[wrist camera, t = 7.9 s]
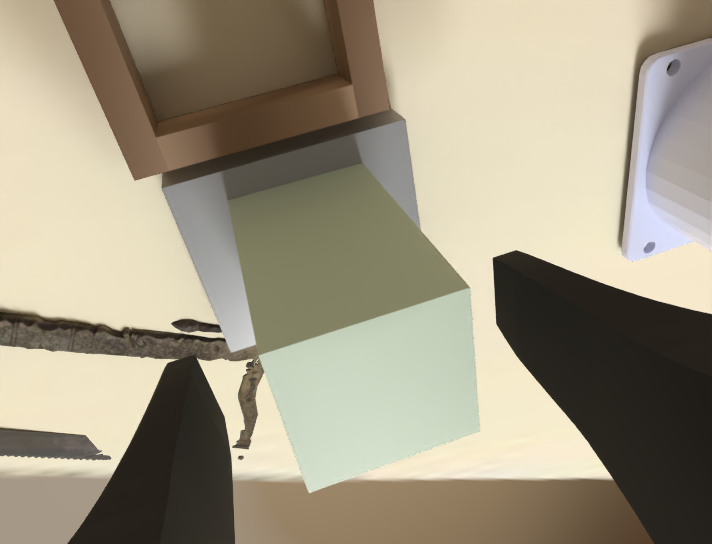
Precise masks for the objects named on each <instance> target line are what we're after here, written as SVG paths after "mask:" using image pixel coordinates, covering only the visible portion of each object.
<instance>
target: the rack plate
mask: <svg viewBox="0 0 712 544" xmlns="http://www.w3.org/2000/svg"><path fill="white" fill-rule="evenodd" d="M360 163H363V164H364V165H365V166H366V168H367V169H368V170H369V171H370V172H371V173H372V175H373V176H374V177H375V178H376V179H377V180H378V182H379V183H380V184H381V185H382V186H383V187H384V188H385V190H386V191H387V192H388V193H389V194H390V195H391V197H392V198H393V199H394V200H395V201H396V202H397V204H398V205H399V206H400V207H401V208H402V209H403V210H404V212H405V213H406V214H407V215H408V216H409V217H410V219H411V220H412V221H413V222H414V223H415V224H416V226H417V227H418V228H419V229H420V222H419V215H418V207H417V200H416V193H415V186H414V178H413V171H412V164H411V157H410V149H409V142H408V135H407V128H406V120H405V119H404V118H403V117H402V116H400V115H399V114H398V113H396V112H395V111H394V110H392V109H390V110H386V111H383V112H379V113H376V114H372V115H369V116H365V117H361V118H358V119H354V120H351V121H347V122H343V123H340V124H336V125H333V126H329V127H326V128H322V129H318V130H315V131H311V132H308V133H304V134H301V135H297V136H293V137H290V138H286V139H283V140H279V141H275V142H272V143H268V144H265V145H261V146H258V147H254V148H250V149H247V150H243V151H240V152H236V153H233V154H229V155H225V156H222V157H218V158H215V159H211V160H207V161H204V162H200V163H197V164H193V165H190V166H186V167H182V168H179V169H175V170H172V171H168V172H165V173H163V175H162V190H163V193H164V195H165V198H166V200H167V202H168V205H169V207H170V209H171V212H172V214H173V216H174V219H175V221H176V224H177V226H178V228H179V231H180V233H181V235H182V238H183V240H184V242H185V245H186V247H187V250H188V252H189V254H190V257H191V259H192V261H193V264H194V266H195V269H196V271H197V273H198V276H199V278H200V280H201V283H202V285H203V287H204V290H205V292H206V295H207V297H208V299H209V302H210V304H211V306H212V309H213V311H214V314H215V316H216V318H217V321H218V323H219V325H220V328H221V330H222V332H223V335H224V337H225V340H226V342H227V344H228V347H229V349H230V351H231V353H232V352H235V351H238V350H241V349H244V348H247V347H250V346H253V345H256V341H255V336H254V331H253V326H252V321H251V316H250V311H249V306H248V301H247V296H246V291H245V286H244V281H243V276H242V271H241V266H240V261H239V256H238V251H237V246H236V241H235V236H234V231H233V226H232V221H231V216H230V211H229V206H228V201H227V200H231V199H234V198H238V197H241V196H245V195H249V194H252V193H256V192H259V191H263V190H267V189H270V188H274V187H277V186H281V185H285V184H288V183H292V182H295V181H299V180H303V179H306V178H310V177H313V176H317V175H321V174H324V173H328V172H331V171H335V170H339V169H342V168H346V167H349V166H353V165H357V164H360ZM420 230H421V229H420Z"/></svg>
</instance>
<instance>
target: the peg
mask: <svg viewBox="0 0 712 544" xmlns="http://www.w3.org/2000/svg"><path fill="white" fill-rule="evenodd" d="M227 201H228V206H229V211H230V216H231V221H232V226H233V231H234V236H235V241H236V246H237V251H238V256H239V261H240V266H241V271H242V276H243V281H244V286H245V291H246V296H247V301H248V306H249V311H250V316H251V321H252V326H253V331H254V336H255V341H256V346H257V351H258V356H259V359H260V361H261V364H262V367H263V369H264V372H265V375H266V378H267V380H268V383H269V386H270V389H271V391H272V394H273V397H274V399H275V402H276V405H277V408H278V410H279V413H280V416H281V418H282V421H283V424H284V427H285V429H286V432H287V435H288V438H289V440H290V443H291V446H292V448H293V451H294V454H295V457H296V459H297V462H298V465H299V467H300V470H301V473H302V476H303V478H304V481H305V484H306V487H307V489H308V491H309V493H311V492H313V491H316V490H319V489H321V488H324V487H327V486H330V485H333V484H335V483H338V482H341V481H344V480H347V479H349V478H352V477H355V476H358V475H360V474H363V473H366V472H369V471H371V470H374V469H377V468H380V467H382V466H385V465H388V464H391V463H393V462H396V461H399V460H402V459H404V458H407V457H410V456H413V455H416V454H418V453H421V452H424V451H427V450H429V449H432V448H435V447H438V446H440V445H443V444H446V443H449V442H451V441H454V440H457V439H460V438H462V437H465V436H468V435H471V434H473V433H476V432H479V431H480V422H479V408H478V394H477V380H476V366H475V352H474V337H473V323H472V309H471V295H470V287H469V286H468V285H467V283H466V282H465V281H464V280H463V279H462V278H461V277H460V275H459V274H458V273H457V272H456V271H455V270H454V268H453V267H452V266H451V265H450V264H449V263H448V261H447V260H446V259H445V258H444V257H443V256H442V255H441V253H440V252H439V251H438V250H437V249H436V248H435V246H434V245H433V244H432V243H431V242H430V241H429V239H428V238H427V237H426V236H425V235H424V234H423V233H422V231H421V230H420V229H419V228H418V227H417V226H416V224H415V223H414V222H413V221H412V220H411V219H410V217H409V216H408V215H407V214H406V213H405V212H404V210H403V209H402V208H401V207H400V206H399V205H398V204H397V202H396V201H395V200H394V199H393V198H392V197H391V195H390V194H389V193H388V192H387V191H386V190H385V188H384V187H383V186H382V185H381V184H380V183H379V182H378V180H377V179H376V178H375V177H374V176H373V175H372V173H371V172H370V171H369V170H368V169H367V168H366V166H365V165H364V164H363V163H360V164H357V165H353V166H349V167H346V168H342V169H339V170H335V171H331V172H328V173H324V174H321V175H317V176H313V177H310V178H306V179H303V180H299V181H295V182H292V183H288V184H285V185H281V186H277V187H274V188H270V189H267V190H263V191H259V192H256V193H252V194H249V195H245V196H241V197H238V198H234V199H231V200H227Z"/></svg>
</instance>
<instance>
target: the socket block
mask: <svg viewBox="0 0 712 544" xmlns="http://www.w3.org/2000/svg"><path fill="white" fill-rule="evenodd" d="M54 2H55V4H56V6H57V9H58V11H59V13H60V15H61V18H62V20H63V22H64V24H65V26H66V29H67V31H68V33H69V35H70V38H71V40H72V42H73V44H74V47H75V49H76V51H77V53H78V55H79V58H80V60H81V62H82V64H83V67H84V69H85V71H86V73H87V75H88V78H89V80H90V82H91V84H92V87H93V89H94V91H95V93H96V96H97V98H98V100H99V102H100V104H101V107H102V109H103V111H104V113H105V116H106V118H107V120H108V122H109V125H110V127H111V129H112V131H113V133H114V136H115V138H116V140H117V142H118V145H119V147H120V149H121V151H122V153H123V156H124V158H125V160H126V162H127V165H128V167H129V169H130V171H131V174H132V176H133V178H134V180H139V179H142V178H146V177H149V176H153V175H156V174H160V173H164V172H167V171H171V170H174V169H178V168H182V167H185V166H189V165H192V164H196V163H199V162H203V161H207V160H210V159H214V158H217V157H221V156H224V155H228V154H232V153H235V152H239V151H242V150H246V149H250V148H253V147H257V146H260V145H264V144H267V143H271V142H275V141H278V140H282V139H285V138H289V137H292V136H296V135H300V134H303V133H307V132H310V131H314V130H318V129H321V128H325V127H328V126H332V125H335V124H339V123H343V122H346V121H350V120H353V119H357V118H360V117H364V116H368V115H371V114H375V113H378V112H382V111H386V110H389V109H390V108H389V101H388V95H387V88H386V82H385V75H384V69H383V62H382V56H381V49H380V42H379V36H378V29H377V23H376V16H375V10H374V3H373V0H324V3H325V8H326V13H327V18H328V23H329V28H330V34H331V39H332V44H333V49H334V54H335V59H336V64H337V69H338V74H336V75H332V76H328V77H325V78H321V79H317V80H313V81H310V82H306V83H302V84H298V85H295V86H291V87H287V88H283V89H280V90H276V91H272V92H268V93H265V94H261V95H257V96H253V97H250V98H246V99H242V100H238V101H234V102H231V103H227V104H223V105H219V106H216V107H212V108H208V109H204V110H201V111H197V112H193V113H189V114H186V115H182V116H178V117H174V118H171V119H167V120H163V121H159V122H158V121H157V119H156V116H155V114H154V111H153V109H152V106H151V104H150V101H149V99H148V96H147V94H146V91H145V89H144V86H143V84H142V81H141V79H140V76H139V74H138V71H137V69H136V66H135V64H134V61H133V58H132V56H131V53H130V51H129V48H128V46H127V43H126V41H125V38H124V36H123V33H122V31H121V28H120V26H119V23H118V21H117V18H116V16H115V13H114V11H113V8H112V6H111V3H110V1H109V0H54Z"/></svg>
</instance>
